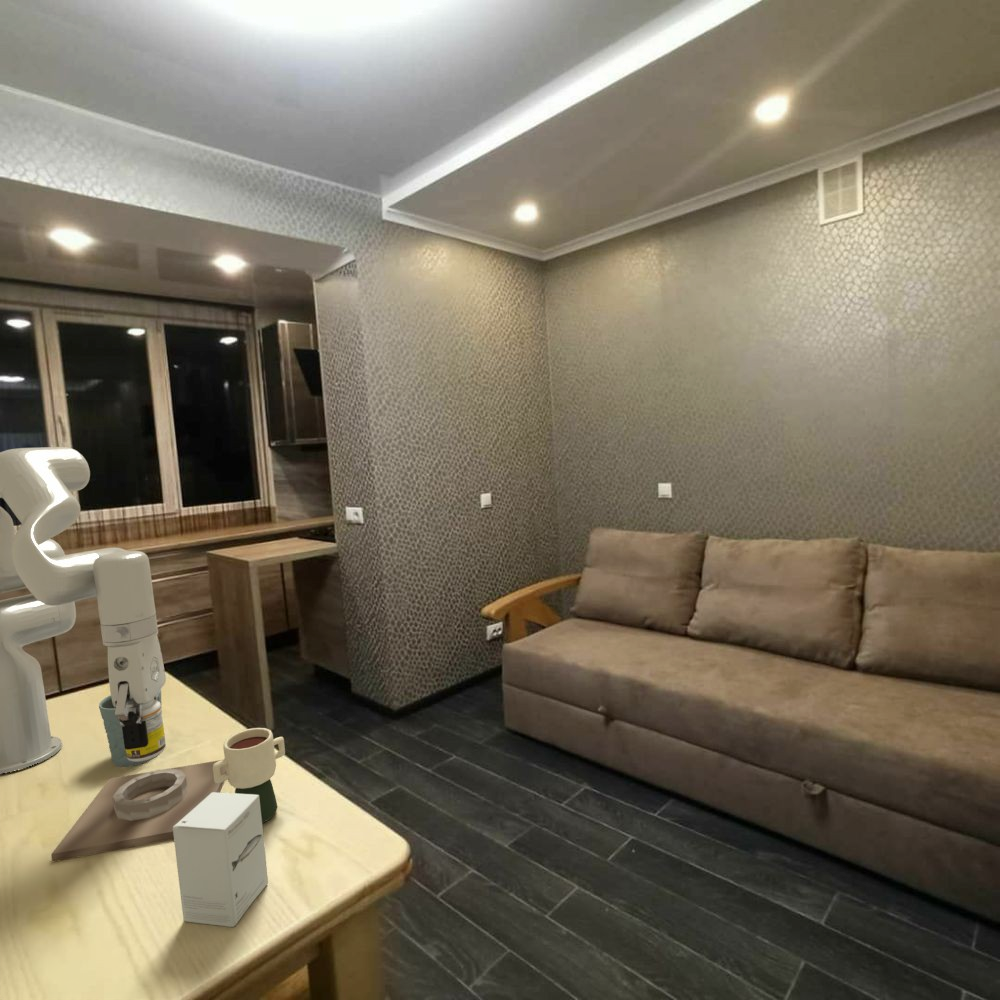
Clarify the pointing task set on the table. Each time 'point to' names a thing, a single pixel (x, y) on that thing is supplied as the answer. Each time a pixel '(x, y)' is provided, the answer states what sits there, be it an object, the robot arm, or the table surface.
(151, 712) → the supplement bottle
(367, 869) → the table surface
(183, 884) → the supplement box
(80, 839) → the collar board
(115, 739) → the blue-grey plant pot
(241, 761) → the character mug
